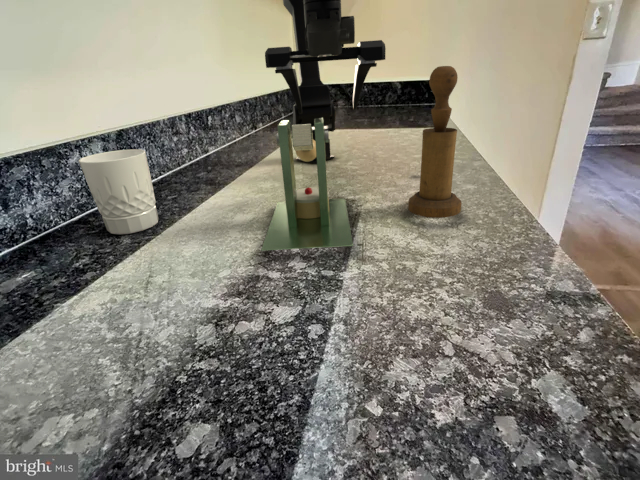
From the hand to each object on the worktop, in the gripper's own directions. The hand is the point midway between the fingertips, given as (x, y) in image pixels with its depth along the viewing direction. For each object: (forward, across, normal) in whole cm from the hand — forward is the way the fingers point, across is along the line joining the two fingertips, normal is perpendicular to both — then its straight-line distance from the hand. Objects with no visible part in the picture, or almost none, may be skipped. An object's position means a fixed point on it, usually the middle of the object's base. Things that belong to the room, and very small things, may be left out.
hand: (327, 111), depth 62 cm
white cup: (+12, -29, -18) cm, 36 cm away
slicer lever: (+3, -3, -19) cm, 20 cm away
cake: (+11, -3, -20) cm, 23 cm away
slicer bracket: (+12, -3, -22) cm, 26 cm away
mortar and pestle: (+12, +13, -21) cm, 27 cm away
